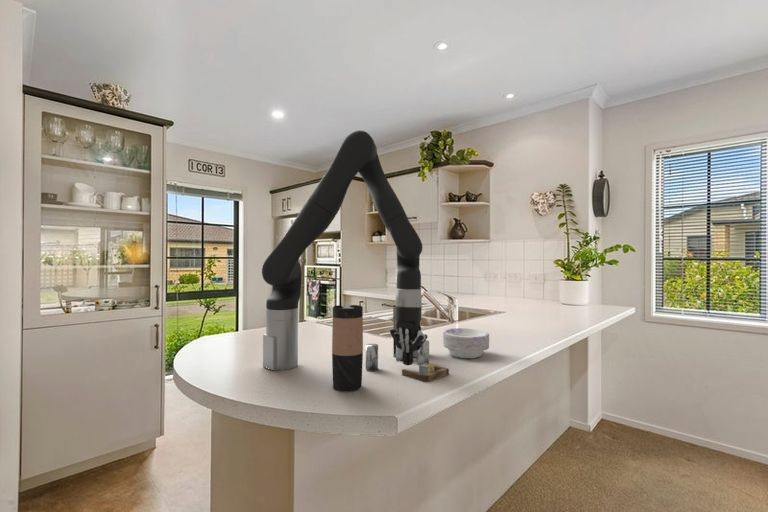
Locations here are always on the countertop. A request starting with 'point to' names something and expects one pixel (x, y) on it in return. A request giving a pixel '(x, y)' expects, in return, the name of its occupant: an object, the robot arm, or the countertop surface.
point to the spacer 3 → (423, 353)
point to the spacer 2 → (399, 354)
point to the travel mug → (347, 347)
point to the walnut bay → (427, 377)
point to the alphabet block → (426, 368)
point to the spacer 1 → (371, 357)
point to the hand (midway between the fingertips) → (407, 364)
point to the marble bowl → (465, 342)
